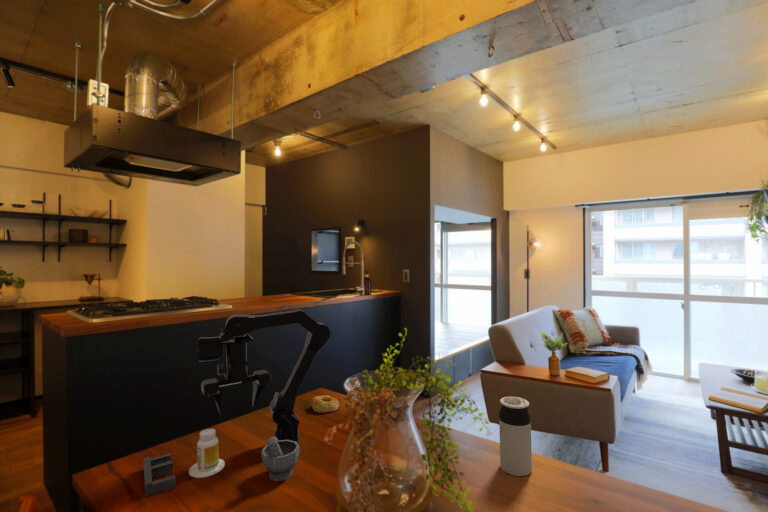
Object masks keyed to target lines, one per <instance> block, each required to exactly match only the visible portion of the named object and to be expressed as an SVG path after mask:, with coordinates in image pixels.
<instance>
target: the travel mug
mask: <svg viewBox="0 0 768 512" xmlns="http://www.w3.org/2000/svg"><path fill="white" fill-rule="evenodd" d="M499 403H500V407H501V408H500V409H499V411H498V414H499V415H498V416H499V417H498V418H499V419H498V420H499V422H498V424H499V454H500V455H499V459H500V463H499V464H500V468H501V470H502V471H504V472H505V473H506V474H509V475H512V476H515V477H524V476H528V475H531V473H532V472H533V463H532V462H533V457H532V456H533V455H532V453H533V452H532V420H531V418H532V417H531V415H532V414H531V413H530V411H529V406H530V402H529V401H528V400H527V399H525V398H523V397H518V396H504V397H502V398H500V399H499Z"/></svg>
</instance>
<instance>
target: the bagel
mask: <svg viewBox="0 0 768 512" xmlns="http://www.w3.org/2000/svg"><path fill="white" fill-rule="evenodd" d="M310 404H311V406H312V410H313V411H314V412H316V413H319V414H325V413H331V412H332V413H333V412H336V411H337V410H338V409H339V407H340V402H339V400H338V399H337V398H336V397H333V396H331V395H328V394H327V395H325V394H324V395H316V396H313V397H312V399H311V402H310Z"/></svg>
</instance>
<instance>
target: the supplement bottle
mask: <svg viewBox="0 0 768 512" xmlns="http://www.w3.org/2000/svg"><path fill="white" fill-rule="evenodd" d="M216 434H217V433H216V429H215V428H205V429H203V430H201V431H200V432H199V439H198V441H197V443H196V459H197V460H196V461H197V462H196V463H197V466H198V470H199V471H210V470H213V469H215V468H216V467H217V466H218V464H219V459H220V457H219V456H220V453H219V451H220V450H219V447H220V444H219V437H217V436H216Z"/></svg>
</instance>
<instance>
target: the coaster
mask: <svg viewBox="0 0 768 512" xmlns="http://www.w3.org/2000/svg"><path fill="white" fill-rule="evenodd" d="M225 465H226V464H225V461H224V460H223V459H221V458H219V464H218V466H217V467H216V468H215V469H213V470H210V471H199V470H198V466H197V462H196V463H194V464H193V465H191V467H190V468H189V470H188V475H189V477H192V478H196V479H202V478H203V479H204V478H207V477H211V476H214V475H216V474H217V473H219V472H222V470H223V469H224V467H225Z"/></svg>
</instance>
